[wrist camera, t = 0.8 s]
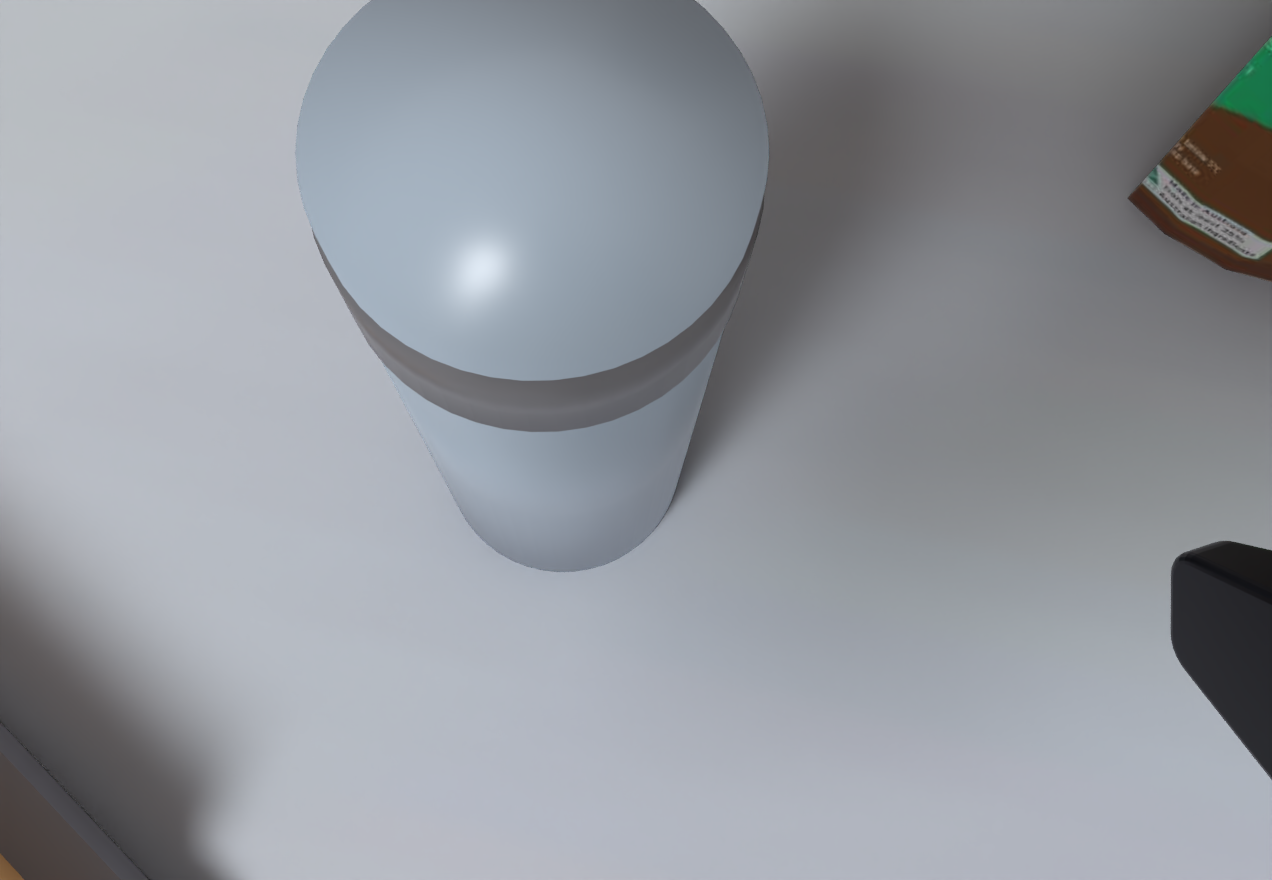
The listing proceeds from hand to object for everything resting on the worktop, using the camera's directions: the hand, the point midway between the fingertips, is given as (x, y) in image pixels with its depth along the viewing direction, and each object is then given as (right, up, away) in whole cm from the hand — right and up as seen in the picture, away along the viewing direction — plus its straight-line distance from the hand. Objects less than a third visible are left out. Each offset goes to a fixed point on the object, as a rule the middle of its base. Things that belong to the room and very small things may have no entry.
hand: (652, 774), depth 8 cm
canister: (-2, +2, +14) cm, 15 cm away
